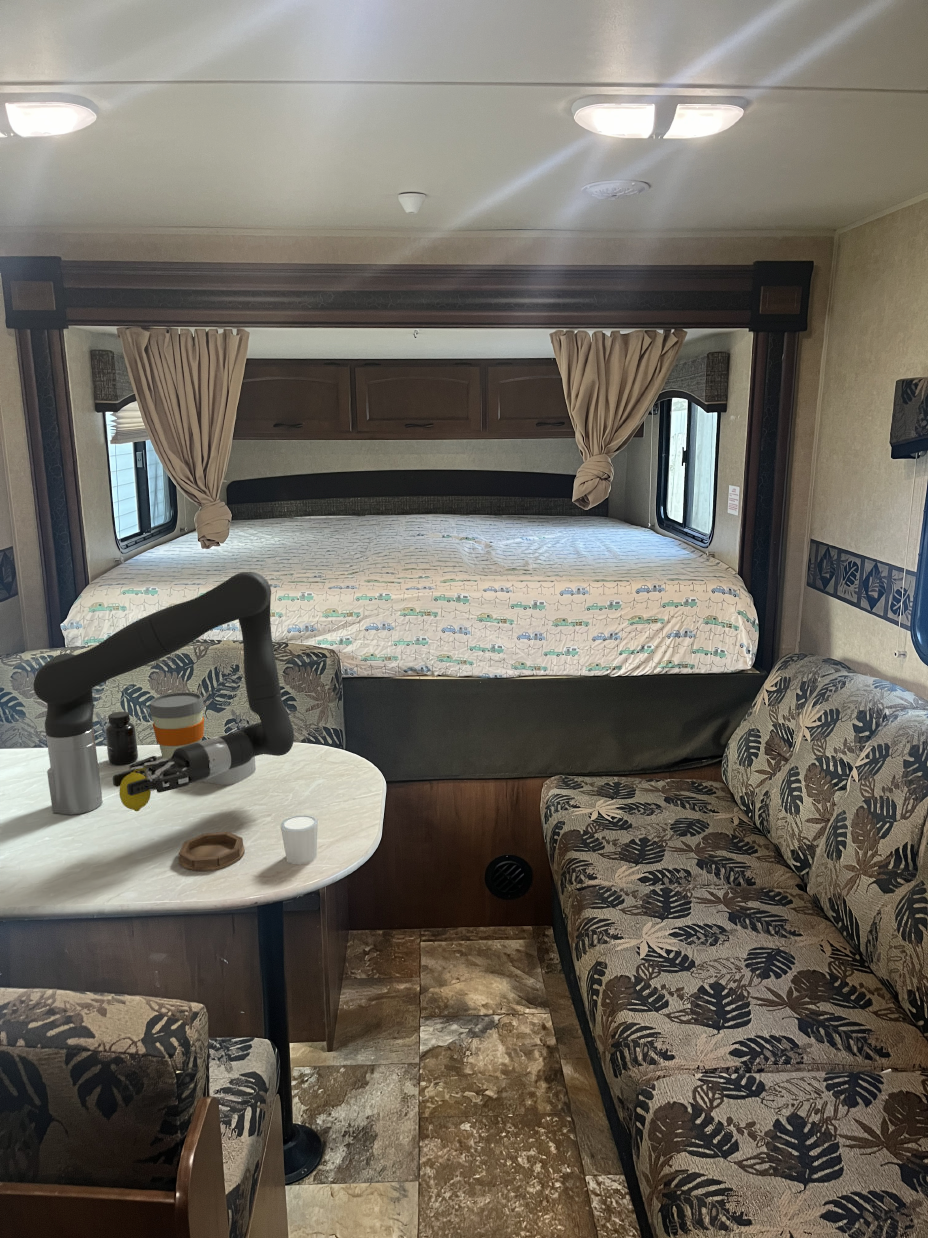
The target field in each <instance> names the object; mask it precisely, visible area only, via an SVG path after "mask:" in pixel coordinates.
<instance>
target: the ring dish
mask: <svg viewBox="0 0 928 1238" xmlns="http://www.w3.org/2000/svg"><path fill="white" fill-rule="evenodd" d="M243 839H244V838H243V837H241V836H239V835H236V834H234V833H232V832H230V831H217V832H205V833H202V834H200V835H197V836H195V837H192V838H189V840H186V841H184V842H183V844H182V846H181V847H180V850H179V852H178V864H179V865H180V866H181V867H182V868H183V869H185V870H188V871H193V872H210V871H211V872H212V871H217V870H221V869H224V868H226V867H227V868H228V867H230V866H232V865H234V864H235V863H237V862H239V861H240V860H241V859H242V858H243V857H244V855H245V854H246V853H245V852H246V848H245V845H244V840H243Z"/></svg>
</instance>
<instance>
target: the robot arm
mask: <svg viewBox="0 0 928 1238" xmlns="http://www.w3.org/2000/svg"><path fill="white" fill-rule="evenodd" d="M271 601H272V588H271V585H270V583H269V581H268V580H267V579H266V577H264V576H263V575H261V574H260V573H257V572H254V571H244V572H243V571H242V572H238V573H236V574H234V575H232V576H231V577H230V578H228V579H227V580H225V581H224V582H223V581H222V583H220V584H218V585H216V586H215V587H214V588H212V589H210V590H208V591H206V592H205V593H203V594H201V595H198V596H197V597H195V598H192V599H189V600H186V601H183V602H179V603H176V604H173V605H170V606H168V607H165V608H162V609H160V610H157V611H155V612H153V613H151V614H148V615H146V616H144V617H142V618H139V619H138V620H135V621H134V622H131V623H130V624H128V625H126V626H124V627H123V628H121V629H119V630H118V631H116V632H115V633H113V634H112V635H110V636H109V637H107V638H105V639H104V640H103V641H101V642H100V643H99V644H97V645H95V646H93V647H91V648H89V649H87V650H85V651H82V652H80V653H78V654H74V653H61V654H58V655H55V656H52V658H50V659H49V660H48V661H47V662H45V663H44V664H43V665H42V666H41V667H40V668H39V669H38V671H36V674H35V676H34V679H33V684H32V685H33V687H32V688H33V691H34V694H35V695H36V697H37V698H38V699H39V700H40V701H42V702H44V703H46V704H47V709H46V714H45V715H46V716H45V720H44V730H45V737H46V745H47V753H48V759H49V765H50V766H49V769H48V770H47V771H46V774H47V779H48V787H49V796H50V803H51V808H52V809H51V810H52V813H53V814H56V813H57V814H62V815H79V814H83V813H88V812H91V811H93V810H95V809H97V808H99V807H100V806H102V803H103V792H102V785H101V779H100V778H101V777H100V776H101V775H100V769H99V763H98V761H99V760H98V754H97V745H96V738H95V737H96V736H95V729H94V721H93V719H94V709H95V708H94V697H93V694H94V693H93V689H94V688H95V687H97V686H99V685H101V684H103V683H104V682H107V681H109V680H111V679H113V678H117V677H118V676H121V675H124V674H127V673H129V672H132V671H135V670H136V669H139V668H142V667H144V666H146V665H150V664H151V663H153V662H156V661H158V660H160V659H163V658H165V657H167V656H169V655H171V654H174V653H175V652H177V651H179V650H181V649H182V648H184V647H186V646H188V645H190V644H191V643H193V642H194V641H196V640H198V639H199V638H201V636H203V635H205V634H206V633H208V632H209V631H212V630H213V629H216V628H218V627H221V626H223V625H226V624H230V623H232V622H235V621H238V623H239V626H240V631H241V638H242V644H243V645H242V647H243V674H244V683H245V689H246V690H245V691H246V696H247V701H248V702H247V703H248V706H249V709H250V711H252V713H254V714H256V715H257V716H258V717H259V720H260V722H256V723H253V724H251V725H247V726H245V727H244V728H241V729H240V730H238V731H236V732H232V733H229V734H228V733H227V734H225V735H222V736H217V737H218V738H213V737H212V738H213V739H212V738H208V739H207V738H206V739H204V740H202V741H200V742H197V743H193V744H190V745H186V746H183V747H180V748H177V749H176V750H175V751H174V753H173V755H172V757H171V758H170V759H163V758H161V759H157V756H156V755H151V756H148V757H147V758H145V759H141V760H138V761H135V762H133V763H130V764H129V770H127V771H123V772H120V773H116V774H114V775H113V776H112V784H113V786H114V787H116V788H118V787H120V784H121V782H122V780H123V779H124V777H126V776H127V775H129V774H130V773H131V772H135V773H140V774H142V775H144V776H145V777H146V778H147V779H146V778H145V779H142V780H139V781H136V782H132V783H129V784H128V785H127V792H128V794H129V795H130V796H132V795H135V794H138V793H141V792H144V791H148V790H149V791H151V792H154V791H156V793H159V794H160V793H164V792H169V791H172V790H173V791H174V790H176V789H181V788H185V787H188V786H189V785H192V784H193V783H198V782H200V781H202V780H204V779H206V778H209V777H212V776H216V775H218V774H220V773H222V772H224V771H227V770H230V769H233V768H236V767H239V766H241V765H244V764H246V763H248V762H249V761H250V760H251V758H252V757H255V758H256V757H257V756H262V755H268V756H277V757H280V756H284V755H286V754H288V753H290V751H291V750H292V748H293V745H294V741H295V732H294V727H293V724H292V721H291V719H290V716H289V714H288V711H287V709H286V706H285V704H284V702H283V699H282V698H283V697H282V691H281V685H280V678H279V672H278V667H277V661H276V656H275V652H274V644H273V643H274V642H273V636H272V627H271V625H272V624H271V605H272V604H271ZM149 773H150V774H149Z"/></svg>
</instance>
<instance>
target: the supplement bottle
mask: <svg viewBox="0 0 928 1238" xmlns="http://www.w3.org/2000/svg"><path fill="white" fill-rule="evenodd" d="M130 716H131V715H130V712H128V711H117V712H116V711H115V712H112V713H110V714H108V716H107V718H108V721H107V722H108V725H107V726H106V728H105V729H104V730H105V732H104V733H105V741H106V747H107V749H106V751H107V757H108V758H107V759H108V762H109V764H110V765H112V766H126V765H131V764H133V763H136V762H137V760H138V759H139V751H138V743H137V742H138V741H137V733H136V732H137V731H136V725H135V724H134V723H133V722H131V717H130Z"/></svg>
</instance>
